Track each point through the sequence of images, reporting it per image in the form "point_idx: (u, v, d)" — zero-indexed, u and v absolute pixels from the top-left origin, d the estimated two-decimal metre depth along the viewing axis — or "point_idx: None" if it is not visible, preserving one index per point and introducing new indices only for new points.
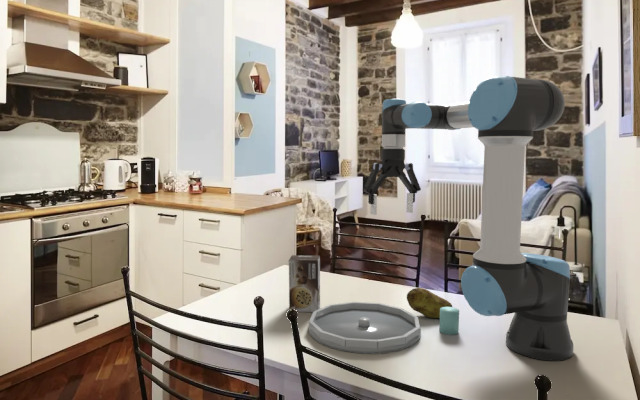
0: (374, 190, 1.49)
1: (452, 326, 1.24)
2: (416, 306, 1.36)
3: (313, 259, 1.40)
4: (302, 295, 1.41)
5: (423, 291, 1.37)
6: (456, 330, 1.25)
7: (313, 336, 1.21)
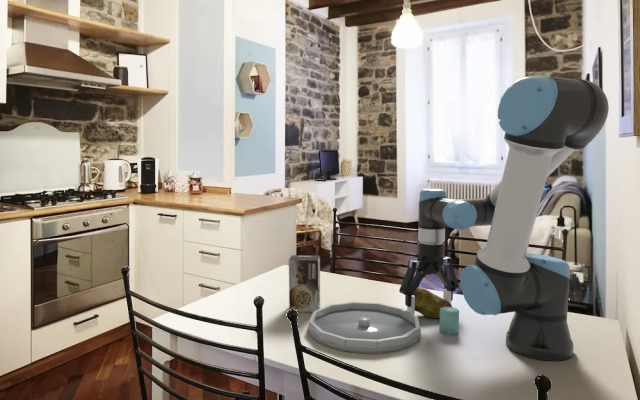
0: (412, 292, 1.34)
1: (452, 326, 1.24)
2: (416, 306, 1.36)
3: (313, 259, 1.40)
4: (302, 295, 1.41)
5: (423, 291, 1.37)
6: (456, 330, 1.25)
7: (313, 336, 1.21)
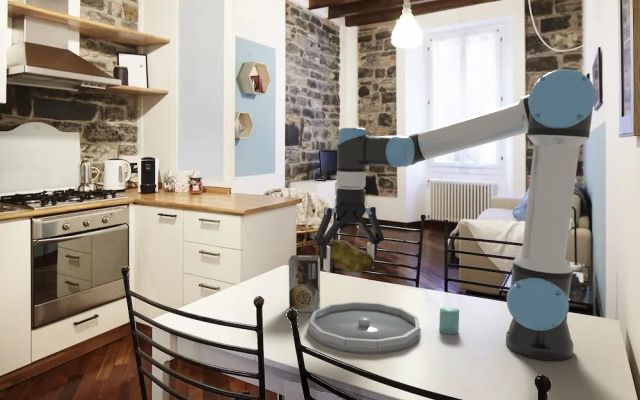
0: (327, 242, 1.20)
1: (452, 326, 1.24)
2: (332, 258, 1.22)
3: (313, 259, 1.40)
4: (302, 295, 1.41)
5: (341, 242, 1.24)
6: (456, 330, 1.25)
7: (313, 336, 1.21)
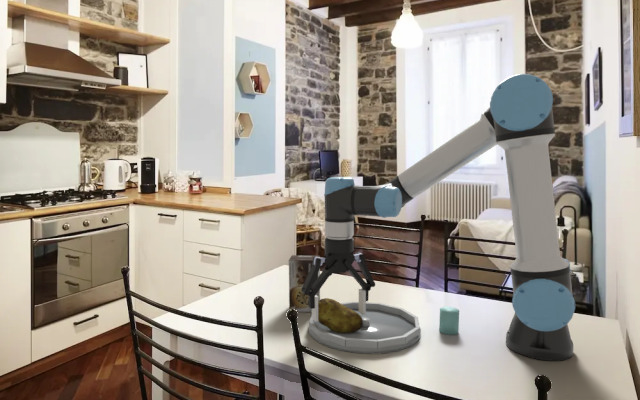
0: (315, 291, 1.19)
1: (452, 326, 1.24)
2: (320, 319, 1.22)
3: None
4: (302, 295, 1.41)
5: (329, 302, 1.23)
6: (456, 330, 1.25)
7: (313, 336, 1.21)
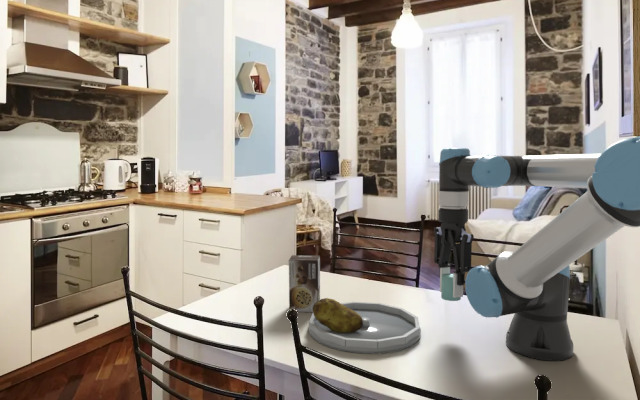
0: (439, 262, 1.28)
1: None
2: (320, 319, 1.22)
3: (313, 259, 1.40)
4: (302, 295, 1.41)
5: (329, 302, 1.23)
6: None
7: (313, 336, 1.21)
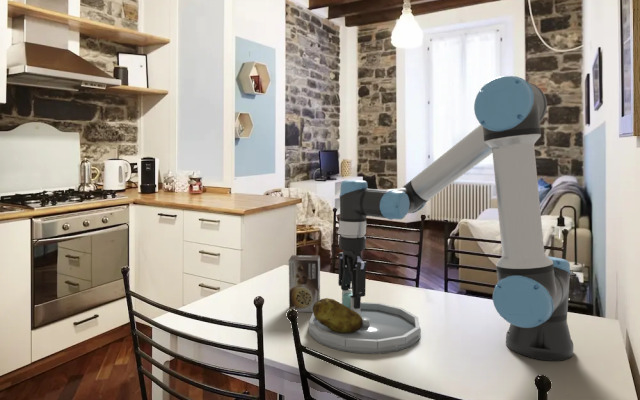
0: (342, 285, 1.36)
1: None
2: (320, 319, 1.22)
3: (313, 259, 1.40)
4: (302, 295, 1.41)
5: (329, 302, 1.23)
6: None
7: (313, 336, 1.21)
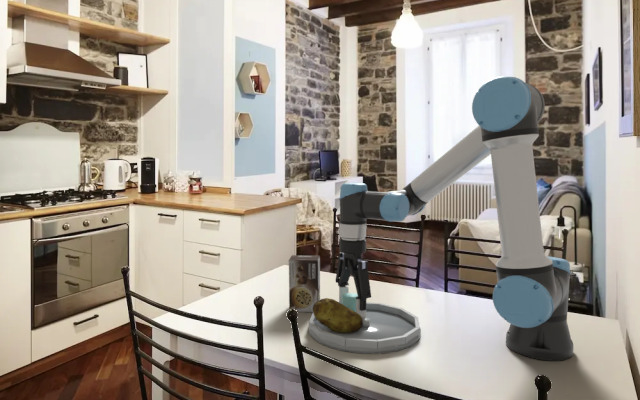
0: (339, 282, 1.38)
1: None
2: (320, 319, 1.22)
3: (313, 259, 1.40)
4: (302, 295, 1.41)
5: (329, 302, 1.23)
6: None
7: (313, 336, 1.21)
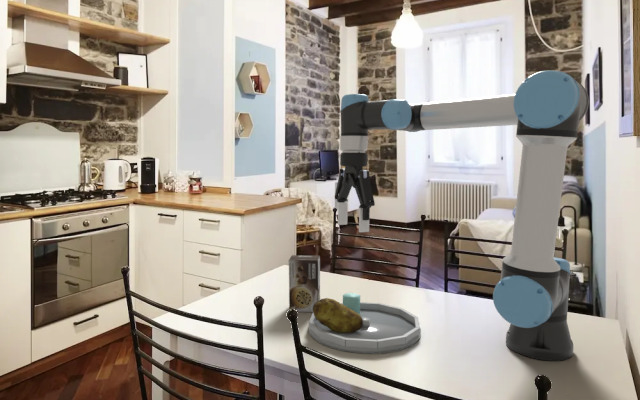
0: (338, 198, 1.37)
1: None
2: (320, 319, 1.22)
3: (313, 259, 1.40)
4: (302, 295, 1.41)
5: (329, 302, 1.23)
6: None
7: (313, 336, 1.21)
